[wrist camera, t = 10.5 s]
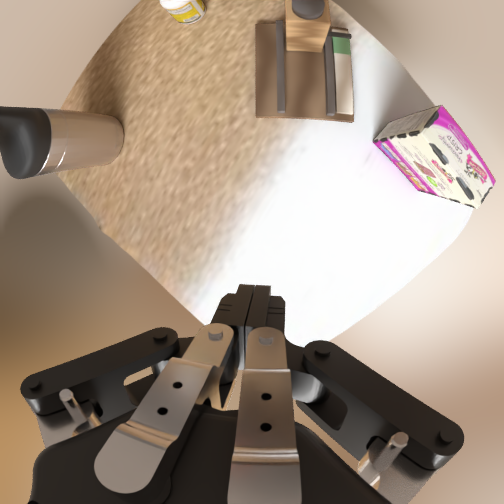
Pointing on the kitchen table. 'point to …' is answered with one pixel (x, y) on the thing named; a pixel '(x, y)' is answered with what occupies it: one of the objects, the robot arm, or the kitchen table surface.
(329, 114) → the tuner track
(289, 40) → the block
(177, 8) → the supplement bottle
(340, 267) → the kitchen table surface
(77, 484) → the robot arm
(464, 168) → the candy bar box
